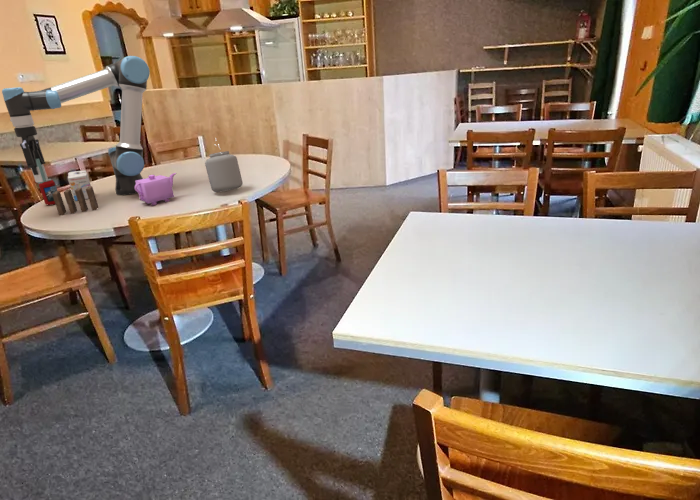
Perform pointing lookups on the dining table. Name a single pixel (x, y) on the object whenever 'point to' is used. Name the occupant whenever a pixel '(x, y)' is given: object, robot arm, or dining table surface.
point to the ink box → (79, 182)
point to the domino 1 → (40, 171)
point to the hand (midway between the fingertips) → (41, 180)
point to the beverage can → (48, 191)
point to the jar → (223, 171)
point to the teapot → (155, 188)
